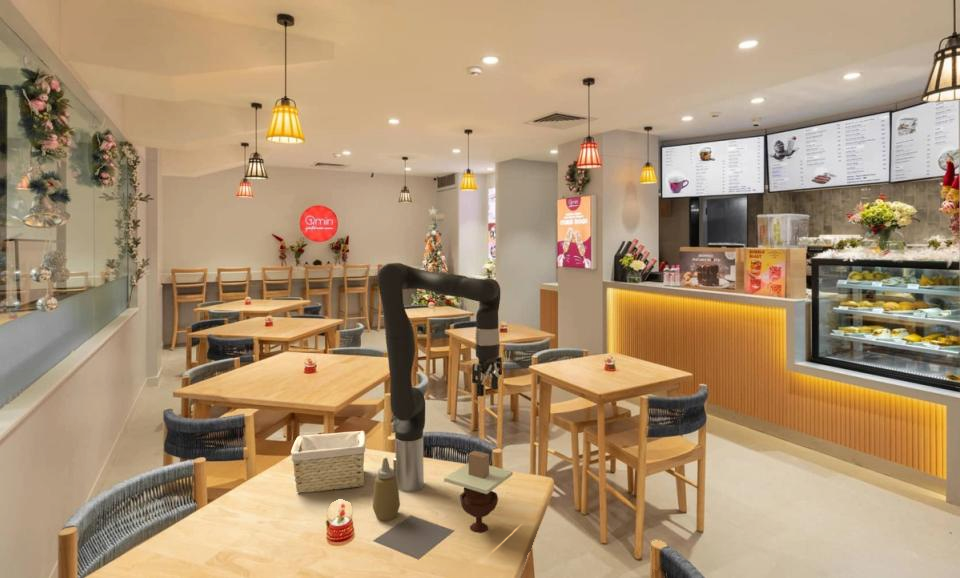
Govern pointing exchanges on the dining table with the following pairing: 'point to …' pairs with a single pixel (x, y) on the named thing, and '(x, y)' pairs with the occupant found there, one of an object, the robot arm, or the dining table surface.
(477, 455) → the cover
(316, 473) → the storage basket
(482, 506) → the ice cream bowl
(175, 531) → the dining table surface
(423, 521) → the mat
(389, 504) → the squeeze bottle
